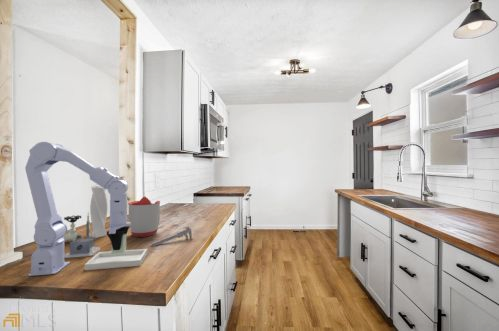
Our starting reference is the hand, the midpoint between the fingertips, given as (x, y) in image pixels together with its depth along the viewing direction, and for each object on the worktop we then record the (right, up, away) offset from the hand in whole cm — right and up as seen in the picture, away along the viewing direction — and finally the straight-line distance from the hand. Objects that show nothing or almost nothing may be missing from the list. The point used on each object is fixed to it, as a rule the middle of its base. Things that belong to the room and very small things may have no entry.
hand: (118, 247), depth 90 cm
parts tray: (0, -5, 0) cm, 5 cm away
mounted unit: (-19, -5, +8) cm, 21 cm away
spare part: (0, -1, 0) cm, 1 cm away
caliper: (+12, -6, +23) cm, 27 cm away
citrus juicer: (-6, -5, +37) cm, 37 cm away
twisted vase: (-29, -6, +33) cm, 44 cm away
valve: (-35, -6, +23) cm, 42 cm away
